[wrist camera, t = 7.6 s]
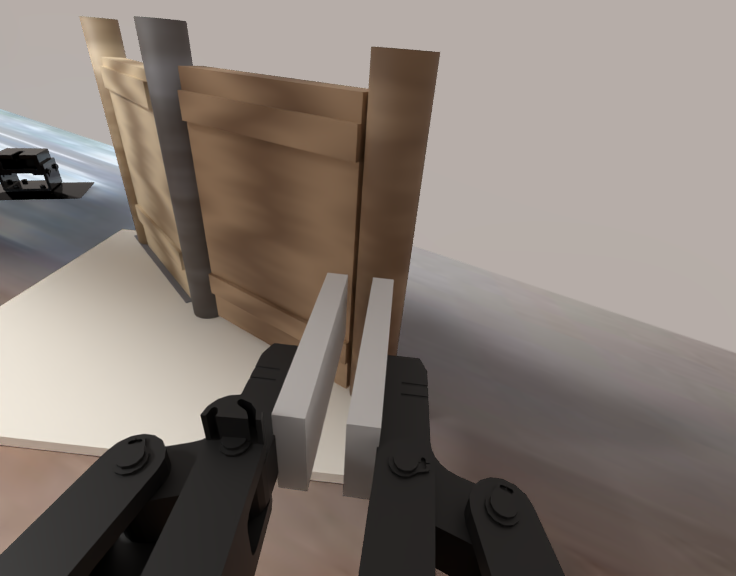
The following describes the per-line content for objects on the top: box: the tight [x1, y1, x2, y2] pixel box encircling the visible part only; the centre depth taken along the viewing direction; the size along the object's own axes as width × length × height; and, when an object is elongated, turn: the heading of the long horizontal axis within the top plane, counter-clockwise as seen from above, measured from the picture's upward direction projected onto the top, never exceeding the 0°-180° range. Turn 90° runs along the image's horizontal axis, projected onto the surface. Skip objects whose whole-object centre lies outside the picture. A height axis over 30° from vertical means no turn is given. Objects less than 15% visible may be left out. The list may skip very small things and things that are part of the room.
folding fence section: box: [177, 47, 440, 396], centre depth 17 cm, size 11×2×14 cm, turn 56°
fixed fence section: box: [80, 16, 219, 319], centre depth 24 cm, size 14×2×15 cm, turn 41°
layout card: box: [0, 229, 351, 484], centre depth 24 cm, size 22×20×1 cm
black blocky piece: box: [0, 148, 94, 200], centre depth 40 cm, size 12×7×5 cm, turn 106°
